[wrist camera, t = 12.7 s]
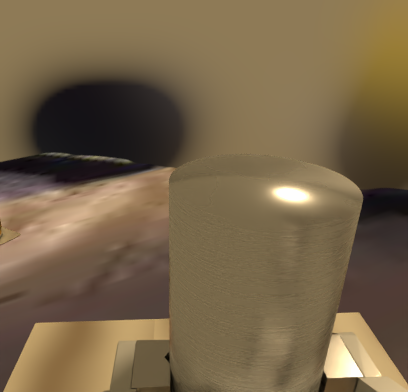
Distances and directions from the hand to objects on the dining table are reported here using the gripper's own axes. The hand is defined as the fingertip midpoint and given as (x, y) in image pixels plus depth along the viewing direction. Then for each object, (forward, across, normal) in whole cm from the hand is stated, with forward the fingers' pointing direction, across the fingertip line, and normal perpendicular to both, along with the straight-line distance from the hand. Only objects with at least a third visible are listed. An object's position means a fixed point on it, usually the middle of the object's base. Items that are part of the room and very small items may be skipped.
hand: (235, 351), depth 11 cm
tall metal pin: (-1, 0, +10) cm, 10 cm away
